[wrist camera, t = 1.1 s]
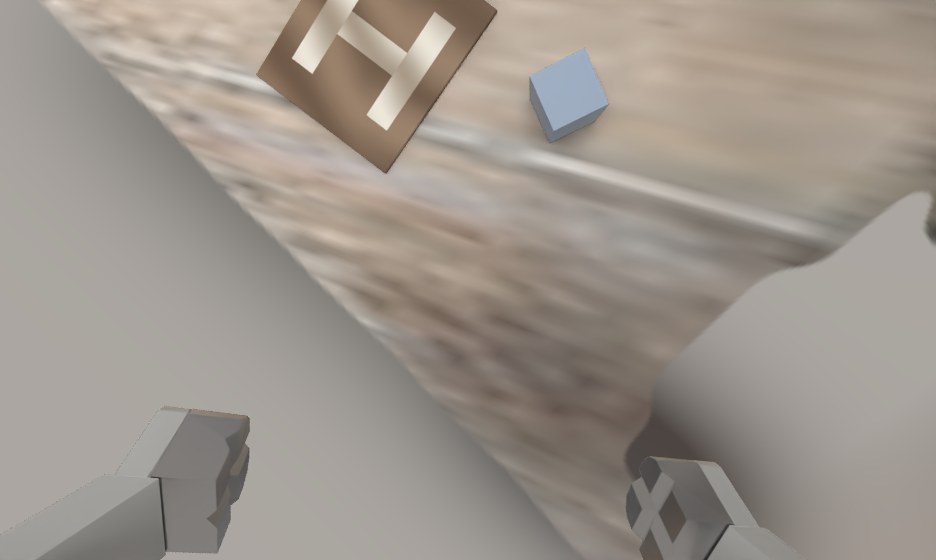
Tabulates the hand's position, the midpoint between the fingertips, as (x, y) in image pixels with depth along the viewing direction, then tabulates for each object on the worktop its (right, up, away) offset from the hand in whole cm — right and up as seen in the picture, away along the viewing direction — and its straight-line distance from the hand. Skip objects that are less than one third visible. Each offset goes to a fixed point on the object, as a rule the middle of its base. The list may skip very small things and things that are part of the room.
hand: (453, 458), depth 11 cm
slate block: (+8, +18, +32) cm, 38 cm away
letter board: (-8, +23, +33) cm, 41 cm away
